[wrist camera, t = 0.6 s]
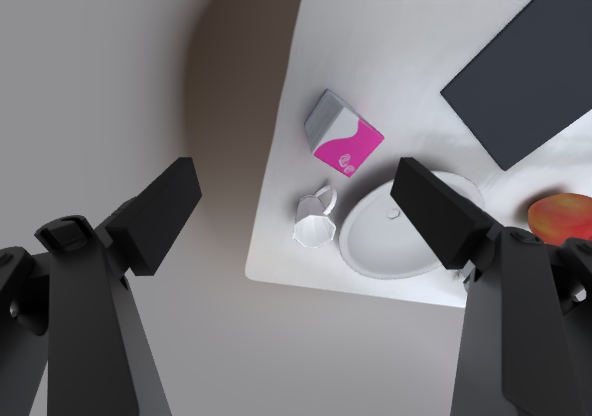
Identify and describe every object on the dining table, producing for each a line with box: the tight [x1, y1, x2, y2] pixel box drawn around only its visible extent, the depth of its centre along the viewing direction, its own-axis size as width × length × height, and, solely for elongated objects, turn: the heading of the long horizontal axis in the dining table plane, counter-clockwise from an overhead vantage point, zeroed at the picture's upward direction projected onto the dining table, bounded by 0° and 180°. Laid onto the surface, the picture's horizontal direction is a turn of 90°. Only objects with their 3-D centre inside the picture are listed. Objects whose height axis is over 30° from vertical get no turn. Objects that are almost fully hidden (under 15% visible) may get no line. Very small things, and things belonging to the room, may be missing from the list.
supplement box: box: [304, 89, 384, 177], centre depth 27 cm, size 6×6×12 cm
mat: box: [440, 0, 592, 171], centre depth 30 cm, size 16×20×1 cm
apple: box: [528, 193, 592, 246], centre depth 38 cm, size 10×10×10 cm
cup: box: [293, 185, 337, 248], centre depth 36 cm, size 7×10×8 cm
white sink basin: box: [339, 171, 485, 280], centre depth 40 cm, size 24×24×7 cm
